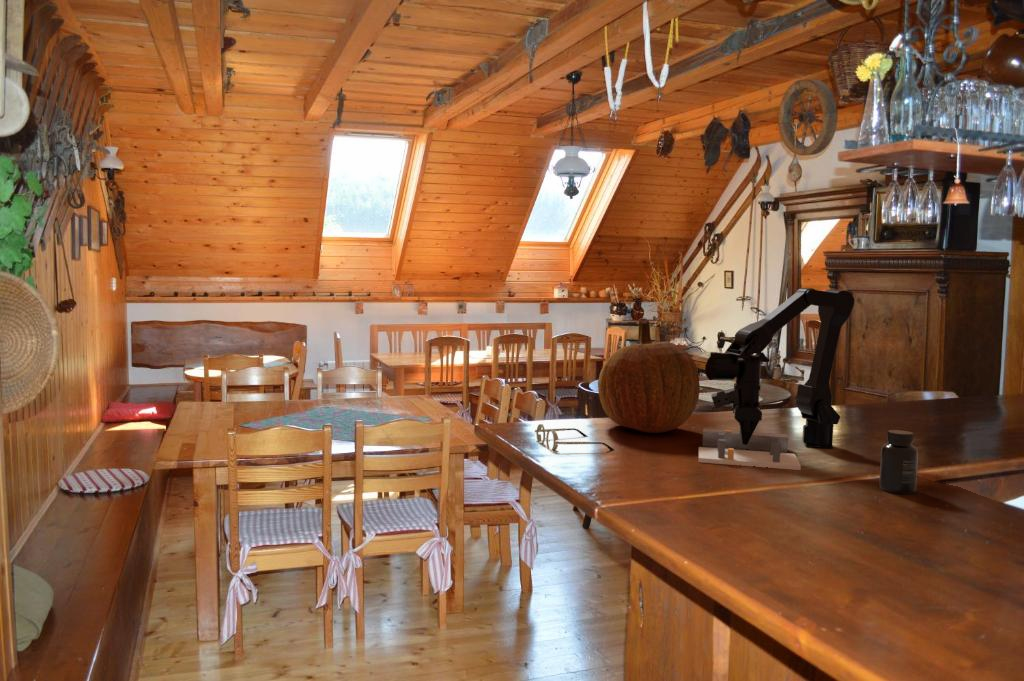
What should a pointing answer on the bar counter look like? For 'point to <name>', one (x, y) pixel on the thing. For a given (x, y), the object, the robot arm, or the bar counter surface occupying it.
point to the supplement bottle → (899, 463)
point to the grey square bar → (735, 440)
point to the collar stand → (749, 456)
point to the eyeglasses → (557, 437)
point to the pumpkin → (649, 384)
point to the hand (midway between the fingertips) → (744, 442)
